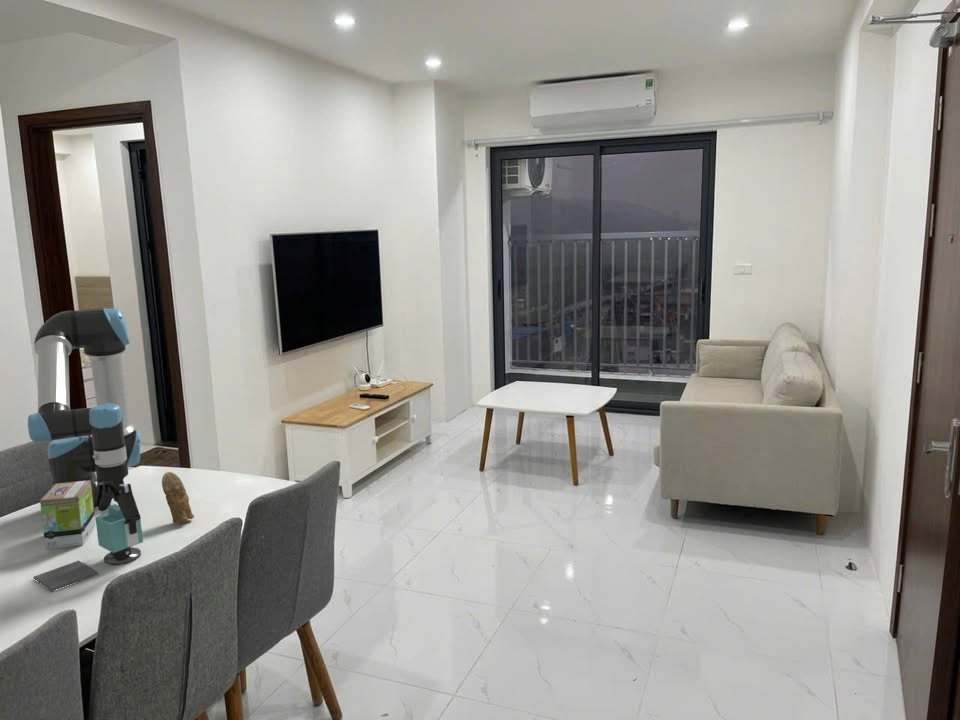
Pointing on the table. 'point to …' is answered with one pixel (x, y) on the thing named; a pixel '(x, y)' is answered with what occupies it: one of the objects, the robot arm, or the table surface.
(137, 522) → the cap
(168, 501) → the figurine
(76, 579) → the pad
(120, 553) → the post
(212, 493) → the table surface
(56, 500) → the tea box
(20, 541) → the table surface
